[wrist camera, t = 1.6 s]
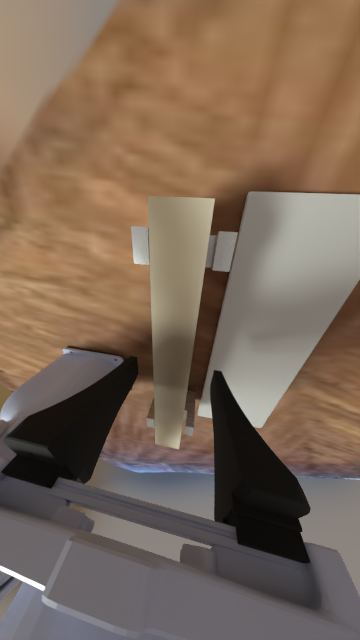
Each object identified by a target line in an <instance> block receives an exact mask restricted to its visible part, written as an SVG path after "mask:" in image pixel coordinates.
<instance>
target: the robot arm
mask: <svg viewBox="0 0 360 640" xmlns="http://www.w3.org/2000/svg"><path fill="white" fill-rule="evenodd" d="M63 353H64V355H62V356H61V357H59V358H58V359H57V360H55V361H54V362H53V363H51V364H50V365H48V366H47V367H46V368H44V369H43V370H41V371H40V372H39V373H37V374H36V375H35V376H33V377H32V378H30V379H29V380H28V381H26V382H25V383H24V384H22V385H21V386H20V387H18V388H17V389H16V390H15V391H14V392H13V393H12V394H11V396H10V397H9V398H8V400H7V401H6V402H5V404H4V406H3V408H2V411H1V414H0V602H1V601H2V600H3V599H4V597H5V596H6V595H7V594H8V593H9V592H10V591H11V590H12V589H13V588H14V587H15V586H16V585H17V584H18V583H19V582H20V581H21V580H22V581H23V583H22V585H21V587H20V589H19V591H18V592H17V594H16V596H15V598H14V600H13V602H12V603H11V605H10V607H9V609H8V611H7V613H6V615H5V616H4V618H3V620H2V622H1V623H0V640H360V596H359V594H358V592H357V590H356V588H355V585H354V583H353V581H352V579H351V577H350V575H349V573H348V570H347V568H346V566H345V564H344V561H343V559H342V557H341V555H340V553H339V552H338V551H337V550H334V549H330V548H327V547H323V546H320V545H316V544H312V543H306V542H303V539H302V536H301V533H300V532H302V527H301V525H300V522H299V519H298V518H300V517H303V516H305V515H307V514H308V513H309V512H310V506H309V504H308V501H307V499H306V496H305V494H304V492H303V490H302V488H301V486H300V484H299V482H298V480H297V478H296V477H295V476H294V475H293V474H292V473H291V472H290V470H289V469H288V468H287V467H286V466H285V465H284V464H283V463H282V462H281V461H280V459H279V458H278V457H277V456H276V455H275V454H274V452H273V451H272V450H271V449H270V448H269V446H268V445H267V444H266V443H265V441H264V440H263V439H262V437H261V436H260V435H259V434H258V432H257V431H256V430H255V428H254V427H253V426H252V424H251V423H250V421H249V420H248V418H247V417H246V415H245V414H244V412H243V411H242V409H241V408H240V406H239V404H238V403H237V401H236V399H235V398H234V396H233V394H232V392H231V390H230V388H229V386H228V384H227V382H226V380H225V378H224V376H223V373H222V372H221V371H217V370H214V372H213V376H212V380H211V384H210V401H211V410H212V419H213V430H214V467H215V508H214V516H215V517H214V519H215V521H212V520H209V519H205V518H202V517H198V516H195V515H191V514H187V513H184V512H180V511H177V510H173V509H170V508H166V507H163V506H159V505H156V504H152V503H149V502H145V501H141V500H138V499H134V498H131V497H127V496H124V495H120V494H116V493H113V492H110V491H106V490H103V489H99V488H95V487H92V486H88V485H85V483H86V482H87V481H89V480H90V479H91V476H92V474H93V471H94V468H95V466H96V463H97V460H98V458H99V455H100V453H101V450H102V448H103V445H104V443H105V441H106V438H107V436H108V433H109V431H110V429H111V427H112V424H113V422H114V420H115V418H116V415H117V413H118V411H119V409H120V407H121V406H122V404H123V402H124V400H125V398H126V397H127V395H128V393H129V391H130V389H131V388H132V386H133V384H134V382H135V380H136V377H137V375H138V364H137V357H133V356H130V357H129V358H127V359H126V360H125V361H124V359H123V358H122V357H121V356H115V355H109V354H103V353H97V352H91V351H85V350H79V349H73V348H64V349H63ZM81 483H82V484H81ZM72 504H74V505H77V506H81V507H84V508H87V509H90V510H94V511H97V512H100V513H104V514H107V515H110V516H114V517H117V518H120V519H123V520H127V521H130V522H134V523H137V524H140V525H143V526H147V527H150V528H153V529H157V530H160V531H163V532H166V533H170V534H173V535H176V536H180V537H183V538H186V539H190V540H193V541H196V542H200V543H203V544H206V545H209V546H213V547H212V548H211V549H208V548H204V547H200V546H195V545H189V544H183V547H182V549H181V553H180V562H177V561H174V560H172V559H168V558H166V557H163V556H160V555H157V554H154V553H152V552H149V551H146V550H143V549H140V548H137V547H134V546H131V545H128V544H125V543H122V542H119V541H116V540H113V539H110V538H106V537H103V536H100V535H97V534H93V533H91V531H92V529H93V526H94V521H93V520H91V519H89V518H88V517H87V516H86V515H85V513H82V512H80V511H78V510H75V509H73V508H71V505H72Z"/></svg>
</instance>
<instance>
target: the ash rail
mask: <svg viewBox="0 0 360 640" xmlns="http://www.w3.org/2000/svg"><path fill="white" fill-rule="evenodd" d="M214 202H215V199H214V198H186V197H157V196H148V217H149V250H150V282H151V314H152V347H153V379H154V411H155V443H156V444H158V445H163V446H167V447H171V448H176V449H179V444H180V437H181V430H182V424H183V417H184V410H185V403H186V396H187V389H188V382H189V375H190V368H191V361H192V354H193V347H194V340H195V333H196V326H197V320H198V313H199V306H200V299H201V292H202V285H203V278H204V271H205V264H206V257H207V250H208V243H209V236H210V229H211V222H212V216H213V209H214Z"/></svg>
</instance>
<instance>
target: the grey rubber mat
mask: <svg viewBox="0 0 360 640" xmlns="http://www.w3.org/2000/svg"><path fill="white" fill-rule="evenodd" d="M359 280H360V195H357V194H323V193H288V192H254V191H250V192H249V193H248V194H247V197H246V202H245V206H244V210H243V215H242V219H241V224H240V228H239V233H238V237H237V241H236V246H235V250H234V255H233V259H232V264H231V268H230V272H229V277H228V281H227V286H226V290H225V295H224V299H223V303H222V308H221V312H220V317H219V321H218V326H217V330H216V334H215V339H214V343H213V348H212V352H211V357H210V361H209V365H208V370H207V374H206V379H205V383H204V388H203V392H202V396H201V401H200V405H199V410H198V416H202V417H207V418H212V410H211V401H210V384H211V380H212V376H213V372H214V370H217V371H221V372H222V373H223V376H224V378H225V380H226V382H227V384H228V386H229V388H230V390H231V392H232V394H233V396H234V398H235V399H236V401H237V403H238V404H239V406H240V408H241V409H242V411H243V412H244V414H245V415H246V417H247V418H248V420H249V421H250V423H251V424H252V426H253V427H258V428H262V426H263V425H264V423H265V422H266V420H267V419H268V417H269V416H270V414H271V413H272V411H273V410H274V408H275V407H276V405H277V404H278V402H279V401H280V399H281V398H282V396H283V394H284V393H285V391H286V390H287V388H288V387H289V385H290V384H291V382H292V381H293V379H294V378H295V376H296V375H297V373H298V372H299V370H300V369H301V367H302V366H303V364H304V363H305V361H306V360H307V358H308V357H309V355H310V354H311V352H312V351H313V349H314V348H315V346H316V345H317V343H318V342H319V340H320V339H321V337H322V336H323V334H324V333H325V331H326V330H327V328H328V327H329V325H330V324H331V322H332V321H333V319H334V318H335V316H336V315H337V313H338V312H339V310H340V308H341V307H342V305H343V304H344V302H345V301H346V299H347V298H348V296H349V295H350V293H351V292H352V290H353V289H354V287H355V286H356V284H357V283H358V281H359Z"/></svg>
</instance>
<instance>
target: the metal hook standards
mask: <svg viewBox="0 0 360 640" xmlns="http://www.w3.org/2000/svg"><path fill="white" fill-rule="evenodd" d="M131 231H132V244H133V256H134V263H135V264H146V265H150V250H149V227H139V226H131ZM237 234H238V232H223V231H219V232H218V233H217V235H210V236H209V243H208V250H207V257H206V264H205V267H208V268H211V269H212V270H214V271H225V272H229V270H230V266H231V261H232V257H233V252H234V248H235V243H236V239H237ZM195 397H196V392H195V391H189V390H187V396H186V403H185V410H184V417H183V419H186V425H185V435H189V436H192V435H193V431H194V419H195ZM147 426H148V427H152V428H155V411H154V398H153V401H152V404H151V407H150V409H149V412H148V415H147Z"/></svg>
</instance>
